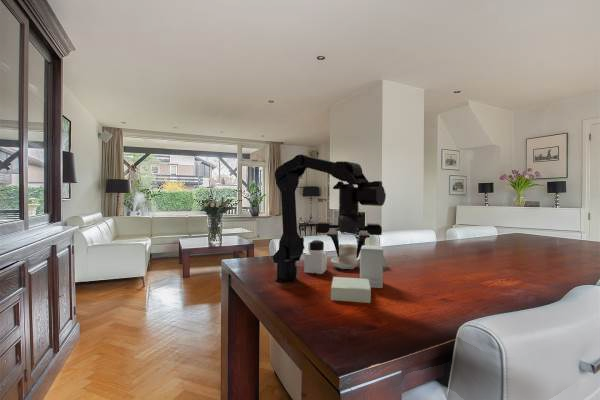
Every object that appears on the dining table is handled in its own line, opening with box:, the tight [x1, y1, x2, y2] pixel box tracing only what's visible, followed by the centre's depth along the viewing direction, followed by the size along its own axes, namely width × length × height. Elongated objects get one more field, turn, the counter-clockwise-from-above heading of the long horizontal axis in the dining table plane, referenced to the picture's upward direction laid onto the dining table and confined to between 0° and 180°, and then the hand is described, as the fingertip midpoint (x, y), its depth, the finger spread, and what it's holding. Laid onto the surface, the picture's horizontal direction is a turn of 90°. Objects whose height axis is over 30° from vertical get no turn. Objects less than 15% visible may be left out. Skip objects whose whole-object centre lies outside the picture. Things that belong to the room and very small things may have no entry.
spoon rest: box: [330, 253, 388, 270], centre depth 123 cm, size 24×12×7 cm, turn 102°
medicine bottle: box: [303, 239, 328, 275], centre depth 115 cm, size 7×7×12 cm
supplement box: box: [359, 245, 384, 289], centre depth 100 cm, size 7×7×13 cm
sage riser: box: [330, 276, 372, 304], centre depth 89 cm, size 11×11×4 cm
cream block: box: [339, 243, 358, 265], centre depth 88 cm, size 5×5×5 cm
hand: (347, 257), depth 88 cm, fingers closed on cream block, 5 cm apart
